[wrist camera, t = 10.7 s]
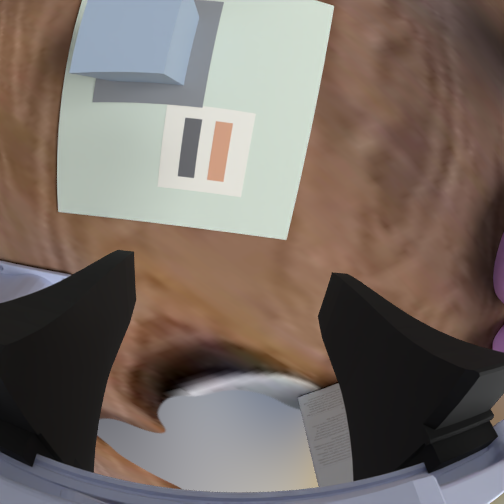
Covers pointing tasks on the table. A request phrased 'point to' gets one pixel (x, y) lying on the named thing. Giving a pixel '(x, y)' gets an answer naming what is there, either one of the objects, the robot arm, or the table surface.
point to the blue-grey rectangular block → (136, 40)
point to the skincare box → (328, 435)
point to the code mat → (201, 125)
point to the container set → (499, 291)
